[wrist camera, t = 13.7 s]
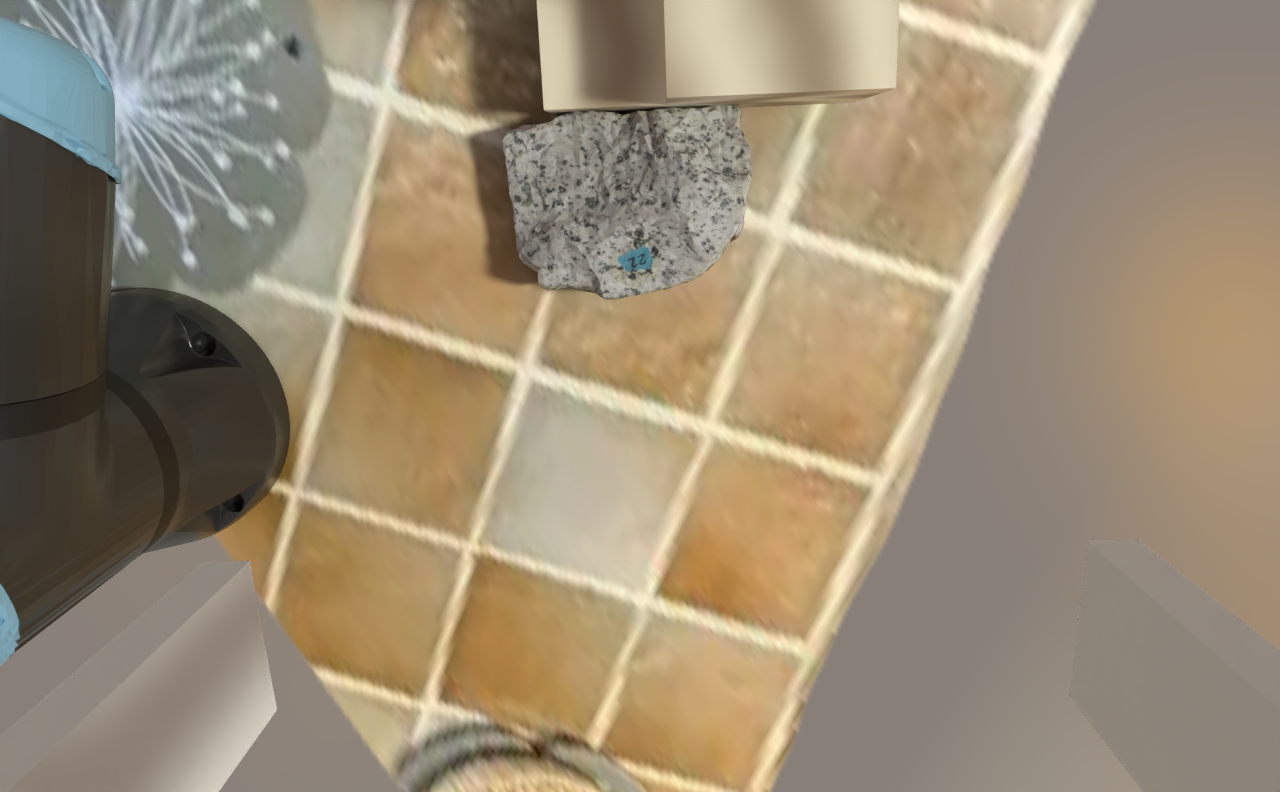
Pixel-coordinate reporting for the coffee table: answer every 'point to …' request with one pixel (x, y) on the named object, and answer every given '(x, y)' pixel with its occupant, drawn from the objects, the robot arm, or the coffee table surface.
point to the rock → (627, 196)
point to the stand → (714, 53)
